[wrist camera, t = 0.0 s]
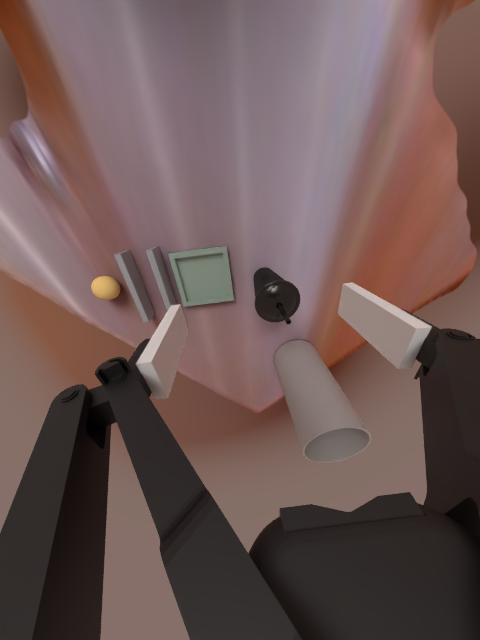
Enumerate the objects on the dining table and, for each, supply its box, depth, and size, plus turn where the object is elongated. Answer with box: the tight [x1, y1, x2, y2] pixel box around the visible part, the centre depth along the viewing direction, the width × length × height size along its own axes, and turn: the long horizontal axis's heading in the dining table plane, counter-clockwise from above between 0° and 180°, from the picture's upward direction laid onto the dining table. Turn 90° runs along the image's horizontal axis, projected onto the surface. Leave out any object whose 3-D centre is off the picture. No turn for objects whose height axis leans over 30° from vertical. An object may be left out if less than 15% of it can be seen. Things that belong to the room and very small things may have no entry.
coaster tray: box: [168, 246, 234, 307], centre depth 41 cm, size 12×12×2 cm
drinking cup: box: [254, 268, 300, 324], centre depth 34 cm, size 8×8×20 cm
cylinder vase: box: [274, 340, 371, 463], centre depth 45 cm, size 12×12×25 cm
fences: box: [114, 246, 177, 322], centre depth 40 cm, size 15×7×4 cm, turn 6°
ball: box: [91, 276, 120, 300], centre depth 39 cm, size 5×5×5 cm
